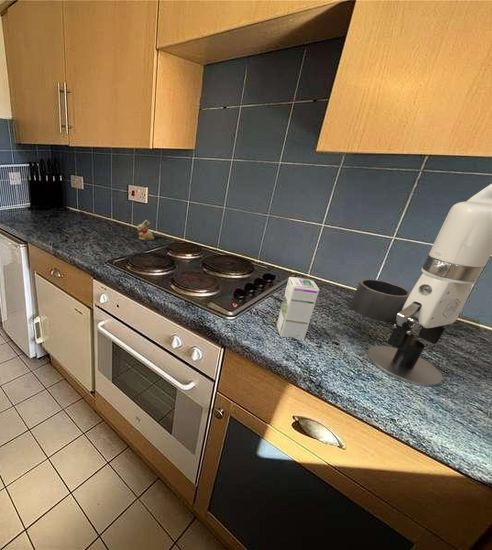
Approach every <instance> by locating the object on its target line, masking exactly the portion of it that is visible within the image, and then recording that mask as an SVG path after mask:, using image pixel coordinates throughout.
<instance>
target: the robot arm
mask: <svg viewBox="0 0 492 550" xmlns="http://www.w3.org/2000/svg"><path fill="white" fill-rule="evenodd" d="M491 256H492V183H490V184H488V185H487V186H486V187H484V188H483V189H481V190H480V191H478V192H477V193H475V194H474V195H472V196H471V197H470V198H469V199H467V200H466V201H459V202H457V203H455V204H453V205H452V206H451V208H450V209H449V211H448V213H447V215H446V217H445V219H444V221H443V223H442V225H441V228H440V230H439V231H438V234H437V236H436V238H435V240H434V242H433V243H432V246H431V248H430V251H429V253H428V254H427V257H426V258H425V261H424V263H423V265H422V267H421V269H420V271H421V272H422V274H421V275H420V276H419V278H418V280H417V281H416V283H415V284H414V286H413V287H412V290H411V291H410V295H409V297H408V299H407V300H406V302H405V304H404V307H403V309H402V311H400V312H399V313H398V314H397V316H396V320H395V323H394V325H393V330H392V332H391V334H390V335H389V337H388V341H387V344H389V345H391V347H393V348H397V349H400V350H401V351H406V350H407V348H408V346H409V344H410V342H411V340H412V339H414V336H415V334H414V333H415V332H416V331H417V330H418V329H419V328H420V327H421V326H422V327H421V329H420V330H419V333H418V337H419V338H421V339H423V340H424V341H427V342H428V343H431V344H433V345H435V344H438V342H439V340H440V339H441V337H442V335H443V334H444V331H445V329H446V328H447V327H448V326H449V325H451V324H454V323H456V322H457V320H458V319H459V316H460V314H461V313H462V311H463V308H464V306H465V305H466V302H467V300H468V298H469V295H470V293H471V290H472V288H473V285H475V284H476V282H477V281H478V280H479V278H480V276H481V274H482V272H483V270H484V268H485V267H486V265H487V263H488V261H489V259H490V258H491ZM409 323H412V325H410V324H409Z"/></svg>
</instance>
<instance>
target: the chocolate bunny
mask: <svg viewBox="0 0 492 550" xmlns="http://www.w3.org/2000/svg"><path fill="white" fill-rule="evenodd" d="M149 226H151V222H150V221H149V220H148V219H145V220H144V221H143V222H142V223H140V224H138V225H137V228H136V229H137V232H138V240H140V241H141V240H142V241H154V240H155V236H154V234H153V233H152V232H151V230H149Z"/></svg>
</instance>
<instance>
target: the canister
mask: <svg viewBox="0 0 492 550" xmlns="http://www.w3.org/2000/svg"><path fill="white" fill-rule="evenodd" d="M410 293H411V291H409V290H408V289H407V288H405V287H403V286H401V285H398V284H397V283H394V282H393V283H392V282H389V281H386V280H381V279H376V278H375V279H374V278H365V279H360V281H359V282H358V285H357V288H356V290H355V293H354V295H353V297H352V301H351V303H350V306H349V307H350V310H352V311H354V312H356V313H358V314H359V315H361V316H362V317H366V318H368V319H372V320H375V321H379V322H382V323H391V324H395V320H396V316H397V314H398V313H399V312H400V311H402V309H403V307H404V304H405V302H406V300H407V299H408V297H409V295H410Z"/></svg>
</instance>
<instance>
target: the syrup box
mask: <svg viewBox="0 0 492 550" xmlns="http://www.w3.org/2000/svg"><path fill="white" fill-rule="evenodd" d="M319 293H320V288H319V286H318V285H317V283H316V282H315V281H314V279H310V278H306V277H297V276H289V277H288V280H287V283H286V287H285V291H284V295H283V298H282V302H281V306H280V310H279V314H278V318H277V321H276V329H277V332H278V335H279V337H280V338H284V339H285V338H287V337H288V338H292V339H298V340H305V338H306V335H307V331H308V328H309V325H310V322H311V319H312V315H313V312H314V309H315V307H316V302H317V299H318V296H319Z"/></svg>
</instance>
